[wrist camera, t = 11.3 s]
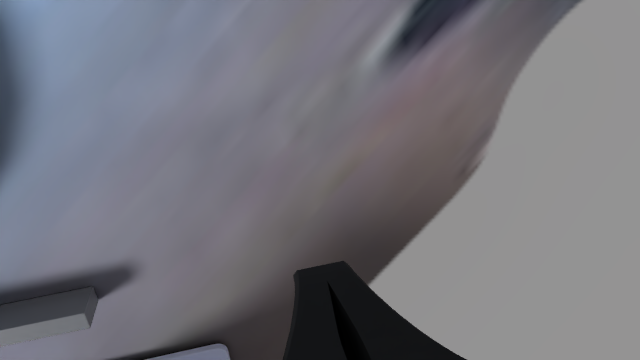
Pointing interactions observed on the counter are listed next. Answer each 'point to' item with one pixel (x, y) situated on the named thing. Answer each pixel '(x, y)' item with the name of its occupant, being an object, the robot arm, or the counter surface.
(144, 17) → the counter surface
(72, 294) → the tray frame
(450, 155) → the counter surface
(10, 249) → the counter surface
